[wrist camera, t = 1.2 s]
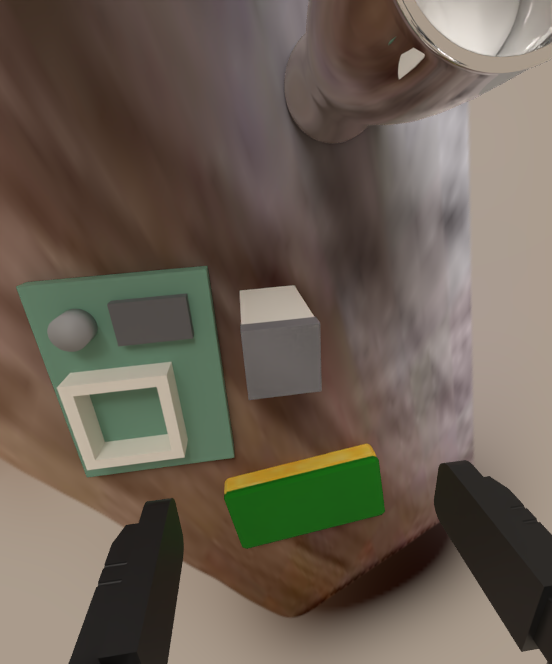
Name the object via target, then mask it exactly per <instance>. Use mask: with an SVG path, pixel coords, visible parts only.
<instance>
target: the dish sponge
mask: <svg viewBox="0 0 552 664" xmlns="http://www.w3.org/2000/svg"><path fill="white" fill-rule="evenodd" d="M224 493H225V495H224V500H225V502H226V505H227V508H228V510H229V513H230V515H231V518H232V521H233V523H234V526H235V529H236V531H237V534H238V537H239V539H240V542H241V545H242V547H243V548H246V549H248V548H251V547H255V546H259V545H263V544H267V543H271V542H275V541H279V540H283V539H287V538H291V537H295V536H299V535H303V534H307V533H311V532H315V531H319V530H323V529H327V528H331V527H335V526H339V525H343V524H347V523H351V522H355V521H359V520H363V519H367V518H371V517H375V516H379V515H382V514H383V513H384V512H385V508H384V500H383V492H382V484H381V476H380V467H379V460H378V458H377V457H376V454H375V452H374V451H373V449H372V447H371V445H369V444H363V445H359V446H355V447H351V448H347V449H343V450H339V451H335V452H331V453H327V454H323V455H319V456H315V457H311V458H307V459H303V460H299V461H295V462H291V463H287V464H283V465H279V466H276V467H272V468H268V469H264V470H260V471H256V472H252V473H248V474H244V475H240V476H236V477H232V478H228V479H227V480H226V481H225V490H224Z"/></svg>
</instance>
